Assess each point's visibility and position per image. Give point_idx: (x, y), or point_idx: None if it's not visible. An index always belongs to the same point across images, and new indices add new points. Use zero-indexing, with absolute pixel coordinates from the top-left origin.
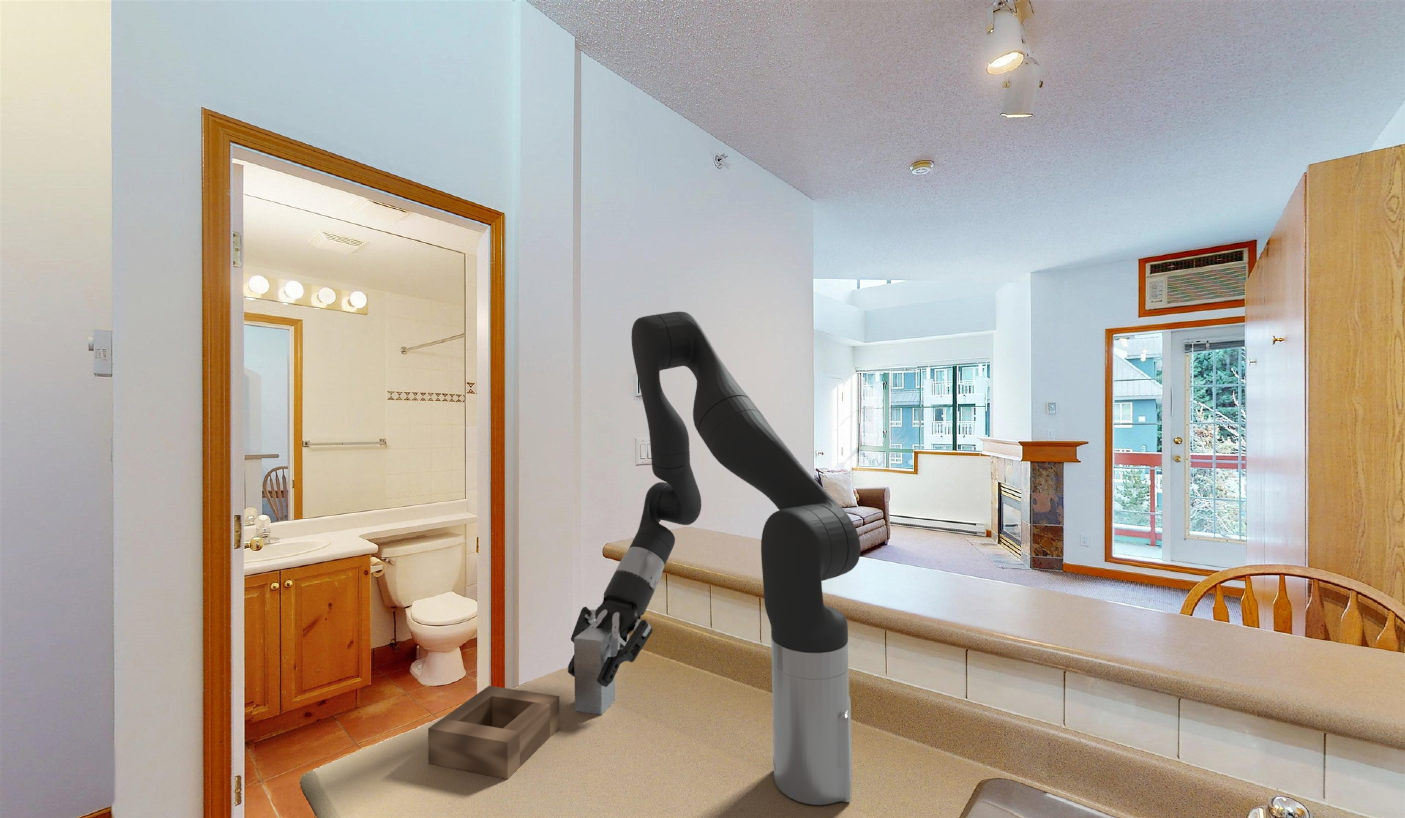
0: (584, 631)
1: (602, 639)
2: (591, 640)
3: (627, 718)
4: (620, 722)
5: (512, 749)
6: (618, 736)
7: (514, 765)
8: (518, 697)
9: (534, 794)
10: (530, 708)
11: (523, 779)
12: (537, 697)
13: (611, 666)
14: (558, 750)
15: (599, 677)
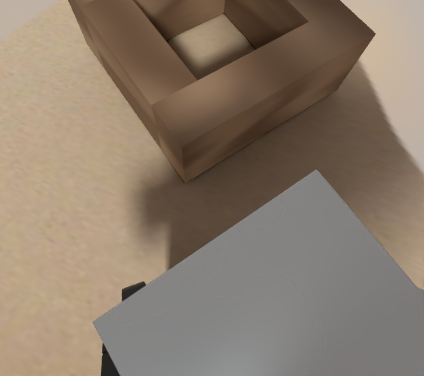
0: (417, 310)
1: (111, 358)
2: (180, 263)
3: (98, 362)
4: (96, 330)
5: (76, 12)
6: (41, 286)
7: (92, 47)
8: (254, 61)
9: (14, 63)
10: (170, 61)
11: (70, 65)
12: (218, 96)
13: (109, 366)
14: (105, 147)
15: (134, 289)
